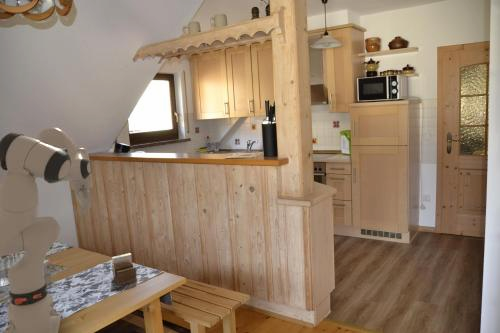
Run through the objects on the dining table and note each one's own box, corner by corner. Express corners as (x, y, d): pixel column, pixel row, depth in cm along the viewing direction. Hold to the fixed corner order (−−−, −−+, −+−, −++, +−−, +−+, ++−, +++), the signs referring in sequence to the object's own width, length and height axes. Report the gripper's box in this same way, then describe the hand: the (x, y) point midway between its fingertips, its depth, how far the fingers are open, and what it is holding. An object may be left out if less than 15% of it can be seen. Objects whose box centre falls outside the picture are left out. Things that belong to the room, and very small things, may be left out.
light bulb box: (40, 281, 187) (36, 259, 185) (52, 282, 186) (49, 259, 184) (22, 292, 177) (19, 268, 175) (36, 293, 175) (32, 269, 174)
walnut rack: (136, 280, 183) (135, 266, 182) (118, 285, 179) (117, 271, 178) (131, 273, 191) (129, 260, 190) (113, 278, 187) (112, 264, 186)
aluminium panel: (133, 273, 188) (131, 254, 186) (115, 277, 184) (113, 258, 182) (131, 271, 189) (130, 253, 188) (114, 276, 185) (112, 257, 184)
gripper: (93, 186, 173) (97, 218, 176) (85, 179, 191) (89, 208, 193) (77, 188, 170) (81, 220, 172) (71, 181, 188) (74, 211, 190)
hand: (85, 214), depth 183 cm, fingers closed
